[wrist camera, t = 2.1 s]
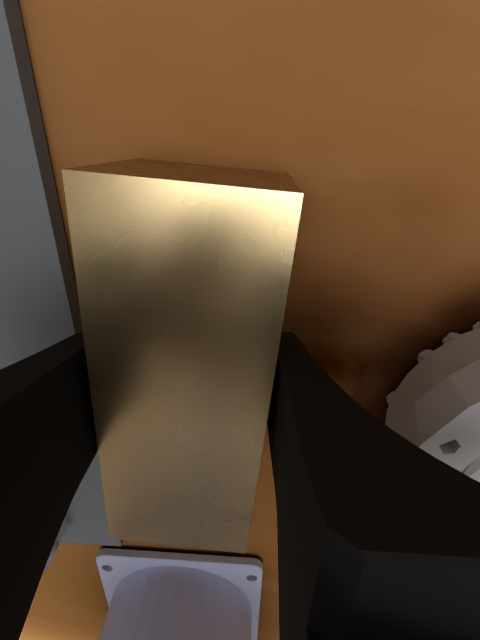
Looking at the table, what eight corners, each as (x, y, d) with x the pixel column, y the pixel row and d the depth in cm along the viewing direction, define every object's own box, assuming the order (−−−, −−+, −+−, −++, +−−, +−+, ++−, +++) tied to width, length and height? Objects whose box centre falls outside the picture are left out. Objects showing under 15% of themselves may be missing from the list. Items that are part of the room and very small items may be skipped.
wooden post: (249, 447, 14) (245, 553, 10) (148, 436, 14) (109, 538, 10) (287, 173, 9) (303, 193, 6) (137, 158, 9) (62, 169, 6)
